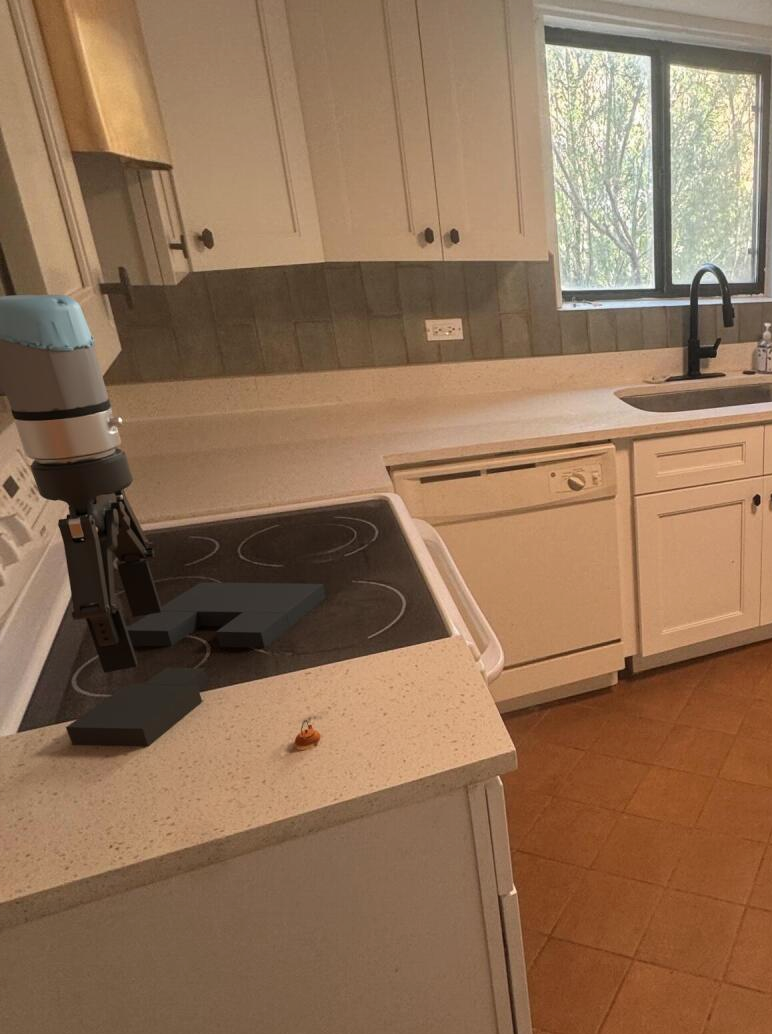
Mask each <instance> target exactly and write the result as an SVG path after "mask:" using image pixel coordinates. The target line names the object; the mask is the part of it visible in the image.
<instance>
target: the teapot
mask: <svg viewBox="0 0 772 1034" xmlns="http://www.w3.org/2000/svg"><path fill="white" fill-rule="evenodd" d="M305 723H306V724H307V729H304V724H305ZM320 740H321V733H320V732H319V731H318V730H316V729H314V727H313V724H309V722H308V720H307V719H305V720H303V721H302V723H301V727H300V732H299V733H298V734H297V735H296V737H295V739H294V747H295V748H296V749H297V750H301V751H303V750H310V749H314V748H315V747H317V746H318V743H319V742H320Z"/></svg>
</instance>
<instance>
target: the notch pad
mask: <svg viewBox="0 0 772 1034" xmlns="http://www.w3.org/2000/svg"><path fill="white" fill-rule="evenodd" d="M324 588H325V587H324V584H323V583H289V582H287V583H283V582H281V583H280V582H279V583H277V582H214V581H213V582H211V581H210V582H208V581H207V582H205V581H204V582H203V581H201V582H199V583H198V584H196V585H194V586H192V587H191V588H189V589H187V590H186V591H184V592H183V593H181V594H179V595H178V596H176V597H174V598H173V599H172V600H170V601H168V602H167V603H165V604H163V605H161V608H162V611H161V612H160V613H154V614H149V615H144V617H142V618H140V619H139V620H137V621H135V622H134V623H132V624H131V625H129V626H128V627H127V630H128V633H129V637H130V640H131V643H132V646H134V647H136V646H137V647H173V646H174V645H176V644H178V643H179V642H180V641H182V640H183V639H184V638H186V637H187V636H189V635H190V634H192V633H193V632H195V631H196V630H197V629H199V628H201V627H220V628H218V630H216V631H215V634H216V637H217V641H218V645H219V647H220V648H256V649H257V648H259V649H265V648H267V647H268V646H269V645H270V644H271V643H272V642H274V641H275V640H276V639H277V638H279V637H280V636H281V635H282V634H283V633H285V632H287V630H288V629H290V628H291V627H292V626H293V625H295V624H296V623H297V622H298V621H299V620H300V619H301V618H303V617H304V616H306V615H307V614H309V612H310V611H312V610H313V609H314V608H315V607H317V605H319V604H320V603H321V602H322V601H324V600H325V599H326V598H327V597H326V592H325V589H324Z"/></svg>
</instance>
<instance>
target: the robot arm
mask: <svg viewBox="0 0 772 1034" xmlns="http://www.w3.org/2000/svg"><path fill="white" fill-rule="evenodd" d="M4 396H5V397H6V398H7V400H8V403H9V406H10V412H11V414H12V417H13V420H14V423H15V426H16V427H15V428H16V430H17V433H18V436H19V439H20V442H21V445H22V449H23V451H24V455H25V456H26V457H27V458H29V459H31V460H32V459H33V461H32V462H31V465H30V471H31V472H32V476H33V480H34V482H35V485H36V489H37V491H38V494H39V496H41V498H42V499H43V498H44V499H45V500H49V501H55V502H56V501H61V502H64V503H66V504H67V505H68V508H67V509H68V513H69V514H66V518H59V519H58V523H57V527H58V528H59V532H60V535H61V539H62V542H63V548H64V554H65V562H66V567H67V568H66V569H67V575H68V581H69V587H70V595H71V600H72V601H71V603H72V607H73V611H71V617H72V619H73V620H77V621H79V620H80V621H81V620H85V621H86V623H87V626H88V629H89V631H90V635H91V638H92V642H93V644H94V647H95V650H96V652H97V655H98V659H99V661H100V665H101V667H102V671H103V673H104V674H105V673H111V672H117V671H121V670H127V669H132V668H136V667H137V666H138V664H139V662H138V659H137V656H136V654H135V649H134V647H133V646H132V643H131V640H130V637H129V633H128V630H127V628H128V627H127V624H126V621H125V618H124V615H123V611H122V609H121V607H117V604H116V593H115V591H116V590H115V578H114V577H115V576H114V563H113V562H114V561H113V555H114V556H115V558H116V559H117V560H118V561H119V562H120V563H118V564H117V566H116V567H117V571H118V574H119V576H120V577H119V578H120V580H121V584H122V587H123V589H124V593H125V596H126V599H127V602H128V606H129V609H130V612H131V615H132V617H133V618H136V617H141V616H147V615H149V614H154V613H160V612H161V611H162V608H161V607H162V604H161V602H160V598H159V596H158V595H159V594H158V591H157V588H156V585H155V582H154V578H153V574H152V571H151V568H150V565H149V561H148V559H149V558H154V557H155V555H156V554H155V549H154V547H153V546H152V547H149V545H150V541H149V540H148V539H147V536H146V534H145V533H144V530H143V528H142V526H141V524H140V522H139V519H138V518H137V516H136V514H135V512H134V509H133V508H132V505H131V503H130V501H129V499H128V497H127V496H126V492H125V489H127V488H128V487H129V486H131V485H132V483H133V475H132V472H131V468H130V464H129V462H128V458H127V454H126V452H125V451H123V450H122V449H120V448H118V447H119V446H120V445H121V444H122V439H121V436H120V433H119V429H118V428H119V427H122V426H123V424H124V423H123V420H122V418H121V417H118V416H114V415H113V410H112V405H111V404H112V403H111V401H110V399H109V395H108V392H107V387H106V384H105V381H104V377H103V373H102V370H101V366H100V363H99V359H98V356H97V350H96V347H95V338H94V335H93V334H92V333H91V330H90V328H89V325H88V323H87V319H86V318H85V315H84V312H83V309H82V307H81V305H80V304H79V302H78V301H77V300H75V299H74V298H73V297H71V296H68V295H65V294H17V295H1V296H0V397H4Z"/></svg>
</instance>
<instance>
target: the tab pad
mask: <svg viewBox="0 0 772 1034" xmlns="http://www.w3.org/2000/svg"><path fill="white" fill-rule="evenodd" d="M208 685H209V682H208V679H207V675H206V671H205V668H204V667H165V668H164V669H162V670H161V671H159V672H158V673H157V674H155V675H154V676H153V677H151V678H150V679H148V680H147V681H146V682H144V683H142V684H140V683H139V684H138V683H126V684H125V685H123V686H122V687H120V688H119V689H118V690H116V692H114V693H112V694H111V695H110V696H107V698H105V699H104V700H102V701H100V703H98V704H97V705H95V706H94V707H92V708H91V709H89V710H88V711H87V712H85V713H83V714H82V715H81V716H80V717H78V718H76V719H75V720H74V721H72V722H71V723H70V724H68V725H67V726H66V727H65V729H66V732H67V735H68V736H69V740H70V742H71V746H88V747H89V746H92V747H93V746H94V747H95V746H96V747H97V746H98V747H139V748H142V747H144V748H147V747H150V746H151V745H152V744H154V743H156V742H157V740H159V738H161V737H162V736H164V734H166V733H167V732H168V731H170V729H172V728H173V727H174V726H176V725H177V724H178V723H179V722H180V721H181V720H183V719H184V718H185V717H186V716H187V715H189V714H190V713H191V712H193V711H194V709H196V708H197V707H199V705H201V704H202V703H203V700H202V696H201V693H200V692H202V691H203V689H205V688H206V687H207V686H208Z"/></svg>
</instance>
